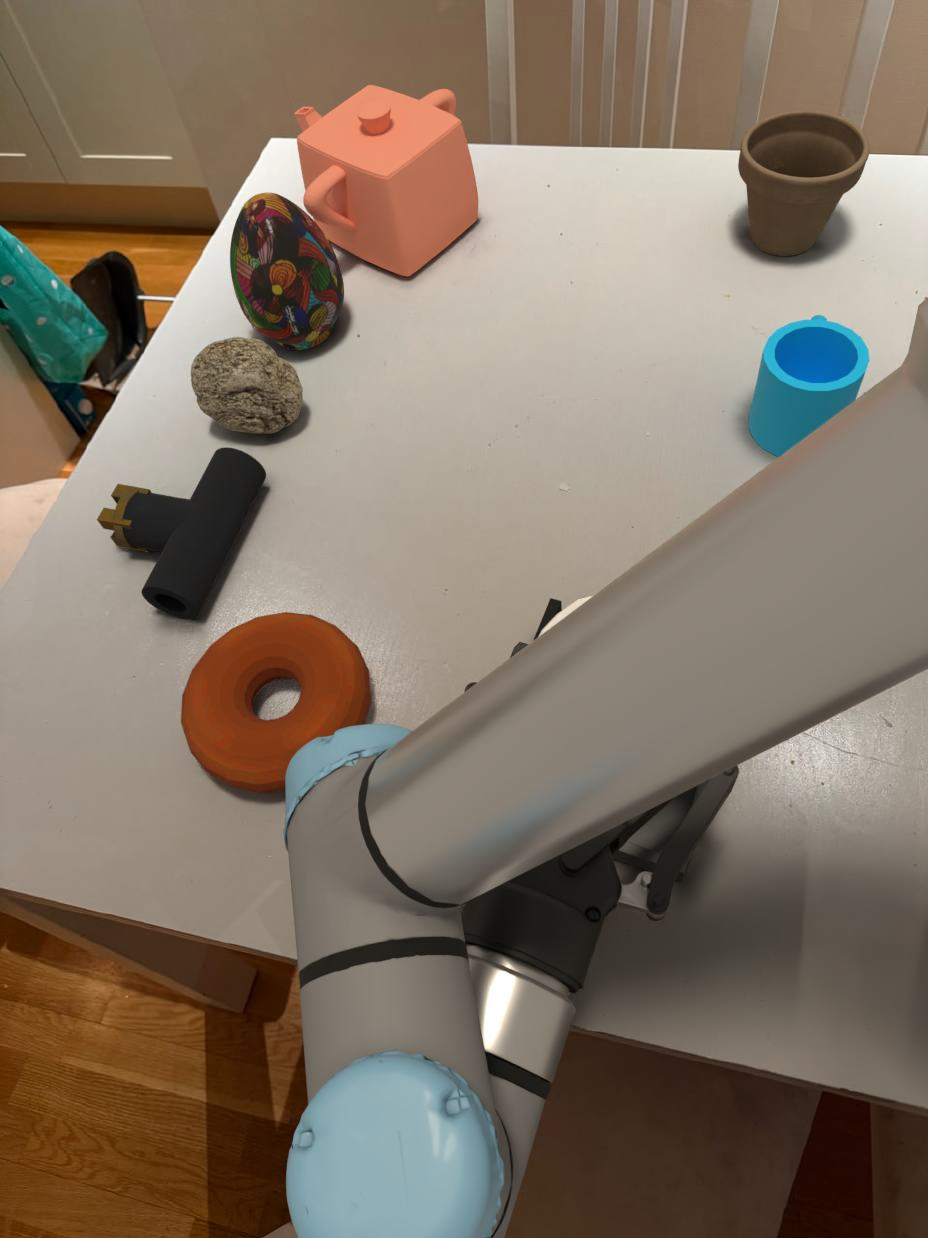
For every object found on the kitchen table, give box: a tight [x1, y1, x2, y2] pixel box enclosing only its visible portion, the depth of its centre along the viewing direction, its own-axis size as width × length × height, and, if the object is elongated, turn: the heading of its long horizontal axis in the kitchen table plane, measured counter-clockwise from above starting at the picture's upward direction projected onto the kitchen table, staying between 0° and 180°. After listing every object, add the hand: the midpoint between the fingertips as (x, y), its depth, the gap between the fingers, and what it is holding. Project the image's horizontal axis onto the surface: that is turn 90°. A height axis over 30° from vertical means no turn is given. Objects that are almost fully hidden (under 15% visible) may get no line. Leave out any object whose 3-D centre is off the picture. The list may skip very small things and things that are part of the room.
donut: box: [180, 611, 372, 794], centre depth 68 cm, size 15×15×5 cm
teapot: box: [293, 84, 479, 277], centre depth 95 cm, size 20×22×14 cm
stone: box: [190, 336, 304, 435], centre depth 83 cm, size 6×10×10 cm, turn 75°
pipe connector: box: [96, 446, 267, 620], centre depth 78 cm, size 12×5×15 cm
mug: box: [748, 314, 870, 457], centre depth 76 cm, size 12×8×8 cm
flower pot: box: [737, 109, 871, 257], centre depth 87 cm, size 12×11×10 cm
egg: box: [229, 192, 345, 351], centre depth 87 cm, size 11×11×15 cm
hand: (632, 631), depth 58 cm, fingers closed on cup, 10 cm apart
